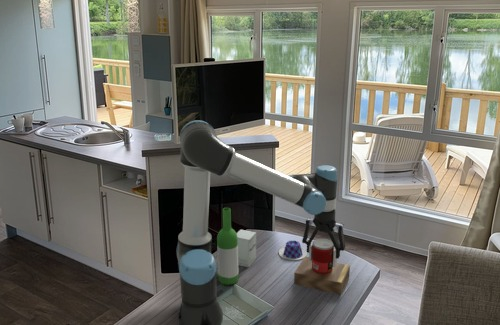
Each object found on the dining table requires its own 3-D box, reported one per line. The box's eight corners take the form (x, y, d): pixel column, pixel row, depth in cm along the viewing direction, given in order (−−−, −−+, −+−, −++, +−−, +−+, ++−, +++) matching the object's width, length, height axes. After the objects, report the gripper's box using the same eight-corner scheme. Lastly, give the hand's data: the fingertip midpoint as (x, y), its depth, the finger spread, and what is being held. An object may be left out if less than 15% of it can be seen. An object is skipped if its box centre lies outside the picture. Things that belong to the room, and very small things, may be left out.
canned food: (332, 275, 174) (333, 249, 171) (310, 273, 176) (311, 247, 172) (333, 264, 181) (334, 239, 178) (312, 262, 183) (313, 237, 179)
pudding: (306, 262, 193) (306, 251, 192) (277, 260, 195) (277, 249, 194) (307, 248, 204) (308, 237, 203) (280, 246, 206) (280, 235, 205)
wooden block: (294, 284, 178) (294, 271, 176) (304, 267, 189) (305, 255, 187) (341, 295, 171) (341, 282, 169) (349, 277, 182) (350, 265, 180)
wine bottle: (222, 273, 185) (219, 203, 176) (241, 276, 184) (239, 205, 174) (215, 284, 178) (212, 212, 169) (235, 287, 176) (233, 214, 167)
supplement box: (249, 268, 189) (248, 240, 185) (232, 264, 192) (232, 236, 188) (256, 259, 195) (256, 232, 191) (240, 255, 199) (240, 228, 194)
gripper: (356, 208, 169) (353, 263, 177) (300, 199, 178) (298, 252, 185) (352, 216, 163) (348, 273, 170) (293, 206, 171) (292, 261, 178)
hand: (322, 262), depth 177 cm, fingers open, 9 cm apart
